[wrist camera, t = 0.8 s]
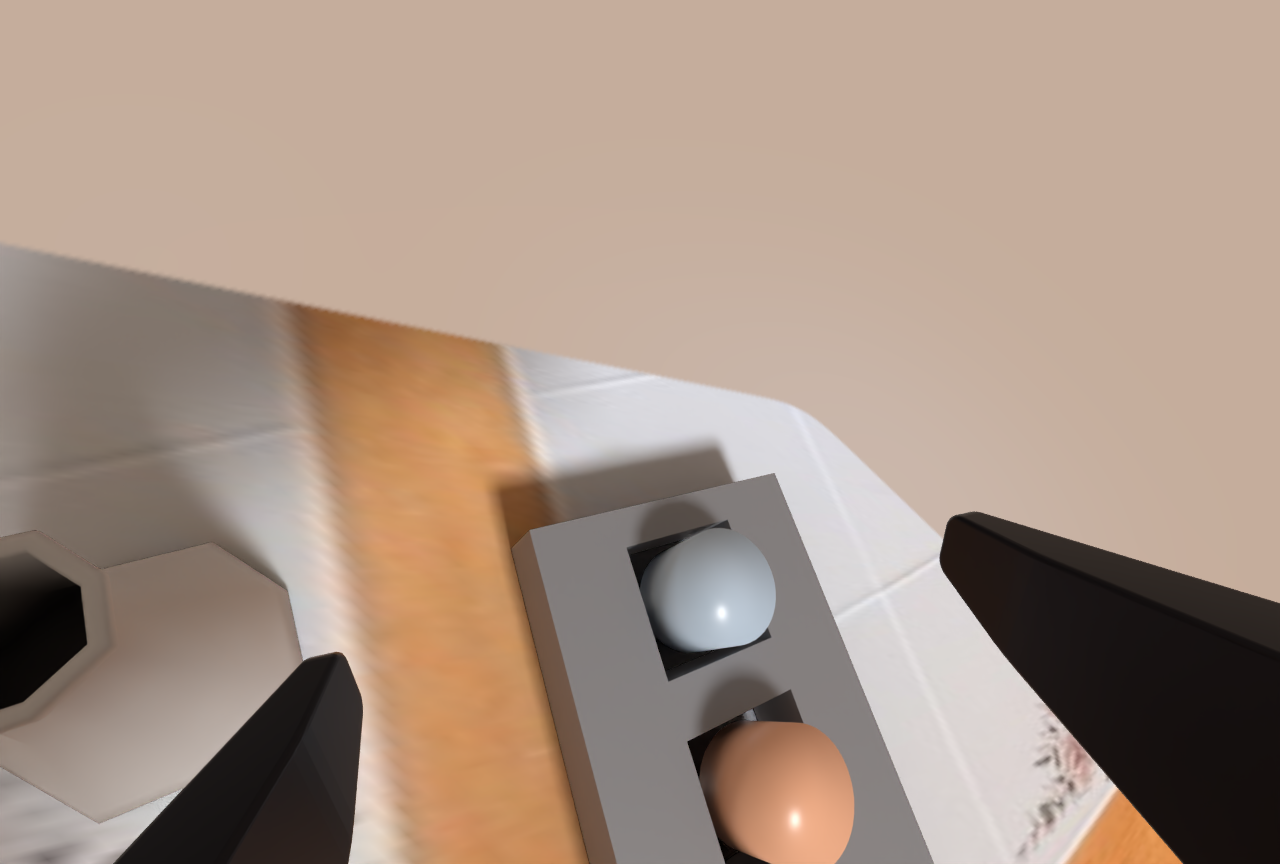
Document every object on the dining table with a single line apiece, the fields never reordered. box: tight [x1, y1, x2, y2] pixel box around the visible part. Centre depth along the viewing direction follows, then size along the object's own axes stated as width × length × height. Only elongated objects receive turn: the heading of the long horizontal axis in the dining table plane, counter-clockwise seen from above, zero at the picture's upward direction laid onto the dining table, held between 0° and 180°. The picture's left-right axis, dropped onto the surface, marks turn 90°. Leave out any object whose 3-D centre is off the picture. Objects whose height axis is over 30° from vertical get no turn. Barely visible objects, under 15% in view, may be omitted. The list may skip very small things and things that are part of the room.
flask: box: [0, 530, 303, 824], centre depth 13 cm, size 7×7×10 cm
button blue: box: [640, 528, 776, 653], centre depth 21 cm, size 4×4×3 cm
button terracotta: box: [699, 720, 854, 864], centre depth 19 cm, size 4×4×3 cm
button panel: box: [511, 473, 934, 864], centre depth 21 cm, size 22×12×3 cm, turn 20°
